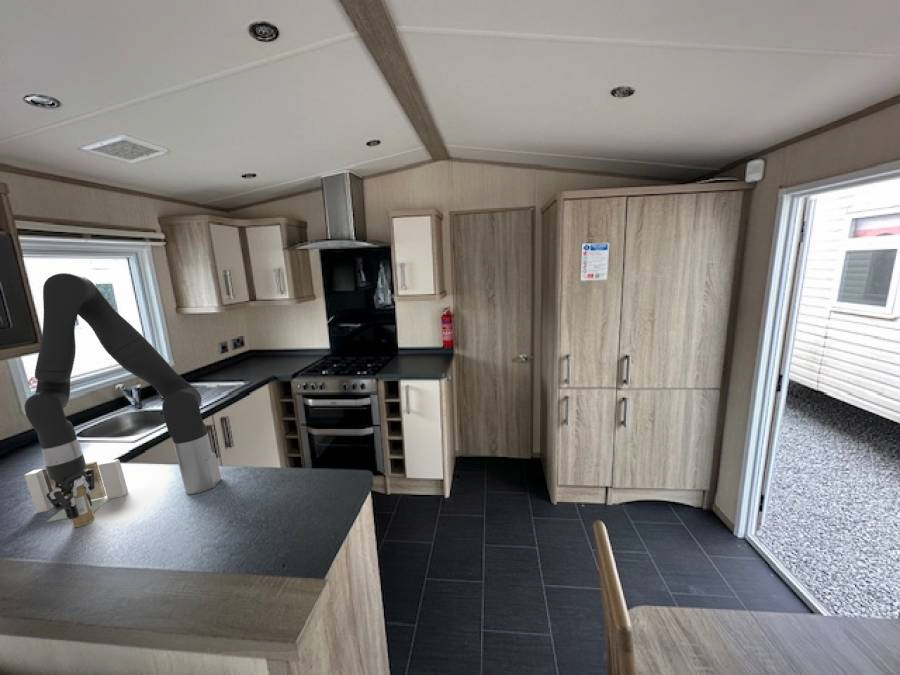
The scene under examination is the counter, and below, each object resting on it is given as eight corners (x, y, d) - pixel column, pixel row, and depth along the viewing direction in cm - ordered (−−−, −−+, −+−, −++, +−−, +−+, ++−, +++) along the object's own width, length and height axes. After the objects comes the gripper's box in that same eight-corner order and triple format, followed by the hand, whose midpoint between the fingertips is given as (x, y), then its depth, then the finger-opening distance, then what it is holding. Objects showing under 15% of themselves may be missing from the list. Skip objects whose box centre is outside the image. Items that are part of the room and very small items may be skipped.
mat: (110, 498, 121) (110, 497, 121) (92, 513, 113) (92, 512, 113) (68, 506, 119) (68, 505, 118) (46, 522, 111) (46, 521, 111)
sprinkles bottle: (97, 515, 111) (85, 474, 109) (89, 524, 107) (76, 482, 105) (78, 520, 110) (65, 479, 107) (69, 530, 105) (55, 486, 103)
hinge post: (55, 505, 120) (44, 468, 118) (47, 511, 117) (35, 473, 115) (44, 507, 120) (33, 470, 117) (36, 513, 117) (24, 475, 114)
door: (106, 496, 122) (96, 460, 120) (101, 501, 119) (90, 463, 117) (56, 506, 119) (44, 469, 117) (49, 510, 117) (37, 472, 115)
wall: (128, 492, 123) (119, 459, 121) (124, 495, 121) (114, 461, 119) (112, 495, 122) (102, 461, 120) (107, 499, 120) (97, 464, 118)
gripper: (58, 467, 99) (76, 525, 101) (97, 444, 112) (112, 496, 115) (25, 473, 97) (44, 531, 100) (69, 449, 111) (84, 501, 114)
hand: (80, 512), depth 108 cm, fingers closed on sprinkles bottle, 4 cm apart
